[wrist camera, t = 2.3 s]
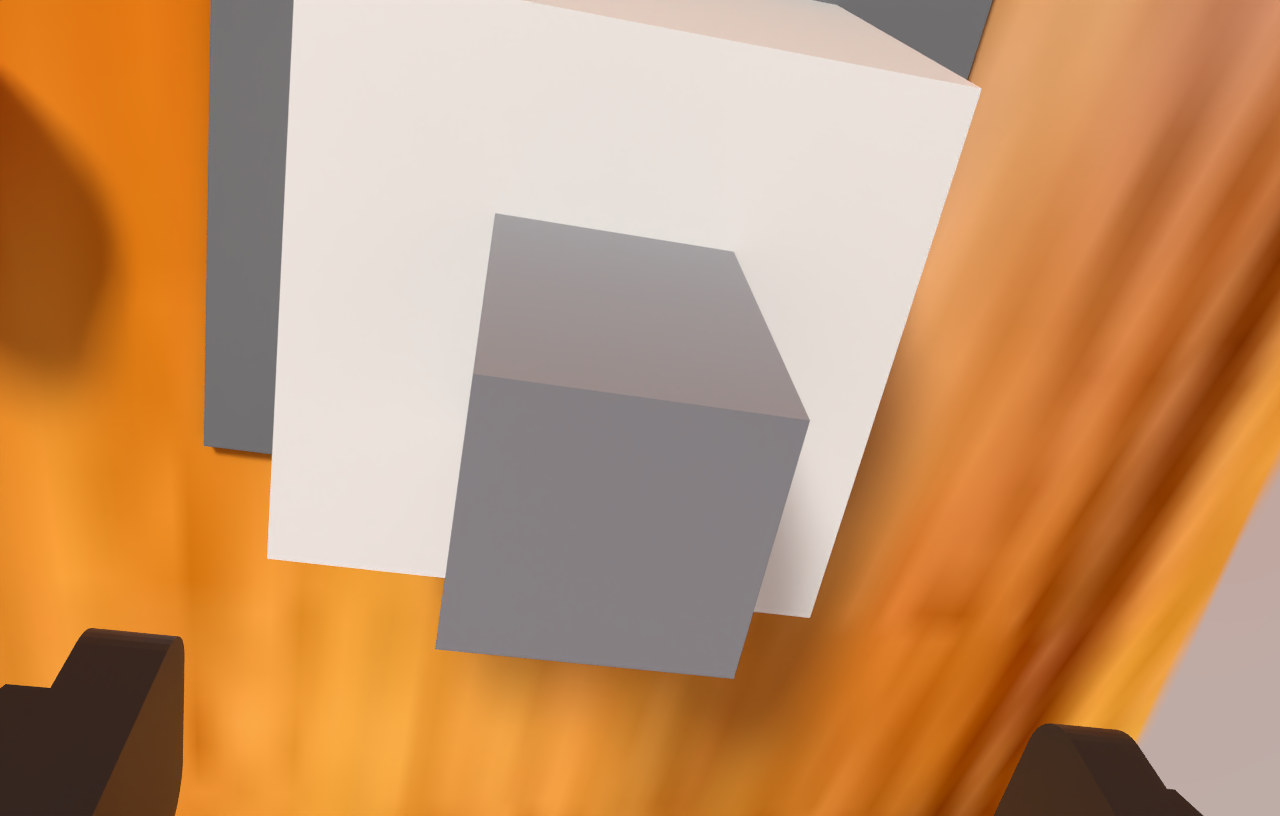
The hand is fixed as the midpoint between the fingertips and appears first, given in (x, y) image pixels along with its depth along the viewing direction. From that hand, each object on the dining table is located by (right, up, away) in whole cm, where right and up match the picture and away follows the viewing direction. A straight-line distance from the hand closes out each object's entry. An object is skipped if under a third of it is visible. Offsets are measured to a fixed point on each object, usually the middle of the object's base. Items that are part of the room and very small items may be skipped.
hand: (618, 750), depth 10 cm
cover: (-1, +9, +17) cm, 20 cm away
